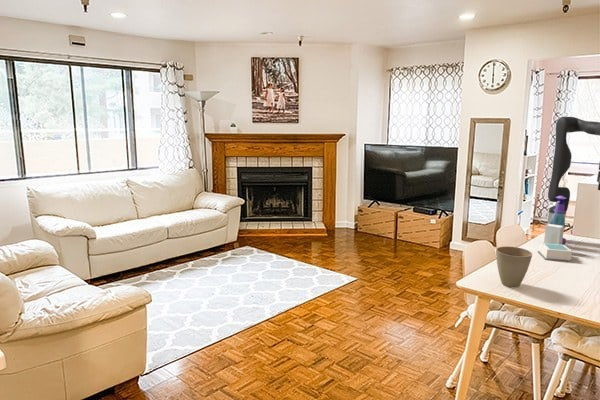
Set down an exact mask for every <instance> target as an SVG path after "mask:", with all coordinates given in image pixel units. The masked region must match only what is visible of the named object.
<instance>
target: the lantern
mask: <svg viewBox="0 0 600 400" xmlns="http://www.w3.org/2000/svg"><path fill="white" fill-rule="evenodd" d="M556 198H557V202H555V204H554V206H555V209H554V214H553V216H552V219H551V222H550V224H554V225H561V226H564V230H565V228H566V223H565V222H566V219H565V220H564V215H563V214H564V213H565V211H564V207H565V205H564V200H565V199H566V198H565V197H563V196H558V197H556ZM566 242H567V241H566V238H565V237H563V241H562V245H565V246H566V244H567V243H566Z"/></svg>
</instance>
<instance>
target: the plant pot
mask: <svg viewBox="0 0 600 400" xmlns="http://www.w3.org/2000/svg"><path fill="white" fill-rule="evenodd" d="M495 256H496V257H495V258H496V265H497V271H498V276H499V279H500V282H501V284H502V285H503V286H505V287H508V288H518V287H520V286H521V284H522V282H523V280H524V279H525V276H526V274H527V272H528V270H529V267H530V264H531V260H532V257H533V252H532V251H530V250H528V249H525V248H522V247H518V246H508V245H507V246H506V245H505V246H498V247H496V249H495Z"/></svg>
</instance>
